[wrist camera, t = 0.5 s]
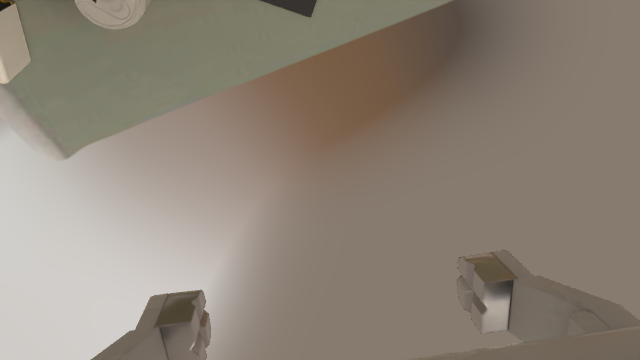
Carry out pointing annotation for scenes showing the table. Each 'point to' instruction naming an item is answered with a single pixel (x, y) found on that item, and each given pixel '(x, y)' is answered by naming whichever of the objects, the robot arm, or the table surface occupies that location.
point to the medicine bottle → (11, 42)
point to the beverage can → (113, 12)
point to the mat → (295, 5)
